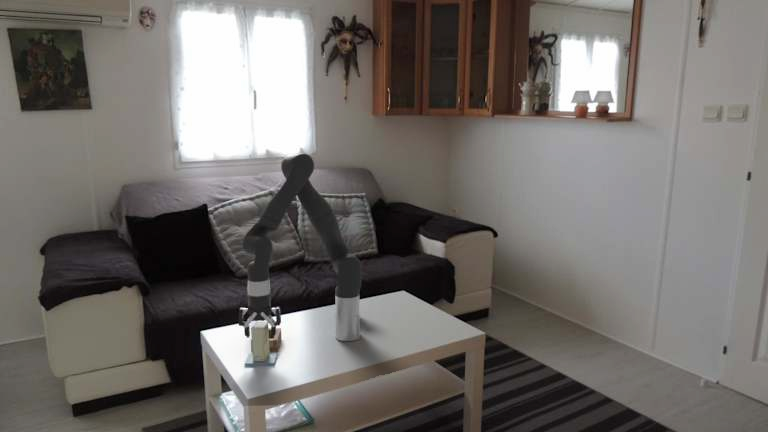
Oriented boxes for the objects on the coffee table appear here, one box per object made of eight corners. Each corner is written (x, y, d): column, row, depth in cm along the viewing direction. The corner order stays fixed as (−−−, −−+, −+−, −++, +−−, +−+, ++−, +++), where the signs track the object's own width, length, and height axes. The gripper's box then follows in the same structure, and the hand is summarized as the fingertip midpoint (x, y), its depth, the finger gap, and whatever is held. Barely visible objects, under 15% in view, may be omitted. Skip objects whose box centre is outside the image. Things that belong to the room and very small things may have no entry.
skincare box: (264, 362, 193) (263, 328, 191) (252, 361, 193) (250, 328, 191) (270, 354, 199) (268, 321, 197) (257, 353, 200) (256, 321, 197)
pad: (277, 355, 200) (277, 353, 200) (274, 365, 193) (274, 363, 192) (248, 356, 200) (248, 353, 200) (244, 366, 192) (244, 363, 192)
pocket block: (281, 339, 215) (281, 328, 214) (277, 351, 204) (277, 340, 203) (256, 339, 214) (256, 328, 214) (251, 352, 203) (250, 340, 202)
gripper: (281, 288, 196) (282, 332, 199) (240, 288, 195) (241, 332, 198) (278, 295, 188) (279, 340, 191) (235, 295, 187) (237, 341, 191)
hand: (260, 336), depth 195 cm, fingers open, 8 cm apart
